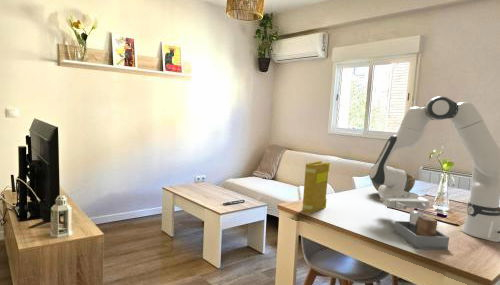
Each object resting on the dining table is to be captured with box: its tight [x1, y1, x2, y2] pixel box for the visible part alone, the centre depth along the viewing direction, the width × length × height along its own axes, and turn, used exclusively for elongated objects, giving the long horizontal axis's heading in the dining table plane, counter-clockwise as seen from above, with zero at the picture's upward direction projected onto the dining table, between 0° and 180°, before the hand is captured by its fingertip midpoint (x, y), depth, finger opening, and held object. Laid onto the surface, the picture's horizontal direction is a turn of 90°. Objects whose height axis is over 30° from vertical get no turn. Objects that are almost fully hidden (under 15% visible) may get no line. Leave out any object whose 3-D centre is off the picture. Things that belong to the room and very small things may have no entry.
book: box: [301, 160, 331, 214], centre depth 175 cm, size 17×7×25 cm, turn 141°
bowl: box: [371, 173, 416, 192], centre depth 213 cm, size 28×27×15 cm
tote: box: [393, 220, 450, 250], centre depth 141 cm, size 14×18×5 cm
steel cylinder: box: [408, 210, 424, 234], centre depth 144 cm, size 5×5×10 cm
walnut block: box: [416, 215, 438, 236], centre depth 137 cm, size 5×5×10 cm
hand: (414, 207), depth 146 cm, fingers open, 8 cm apart
